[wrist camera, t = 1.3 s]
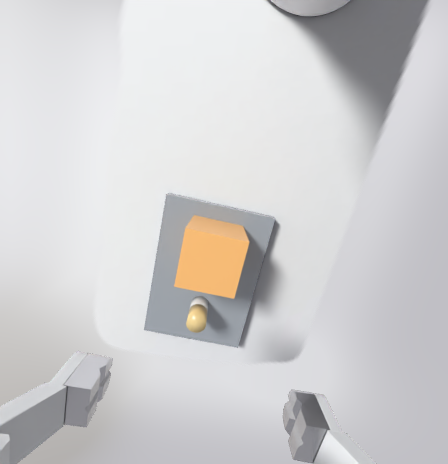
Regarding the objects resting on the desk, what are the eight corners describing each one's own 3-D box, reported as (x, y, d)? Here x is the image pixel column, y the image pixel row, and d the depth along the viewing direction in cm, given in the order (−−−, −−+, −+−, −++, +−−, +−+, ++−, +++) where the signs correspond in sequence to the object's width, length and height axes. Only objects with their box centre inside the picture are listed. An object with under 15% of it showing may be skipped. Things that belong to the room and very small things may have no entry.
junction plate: (169, 193, 29) (156, 198, 24) (272, 216, 30) (284, 227, 25) (147, 323, 34) (132, 354, 29) (237, 340, 35) (240, 373, 29)
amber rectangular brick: (193, 214, 29) (185, 228, 22) (243, 225, 29) (249, 242, 22) (184, 261, 30) (174, 286, 24) (231, 270, 31) (234, 298, 24)
